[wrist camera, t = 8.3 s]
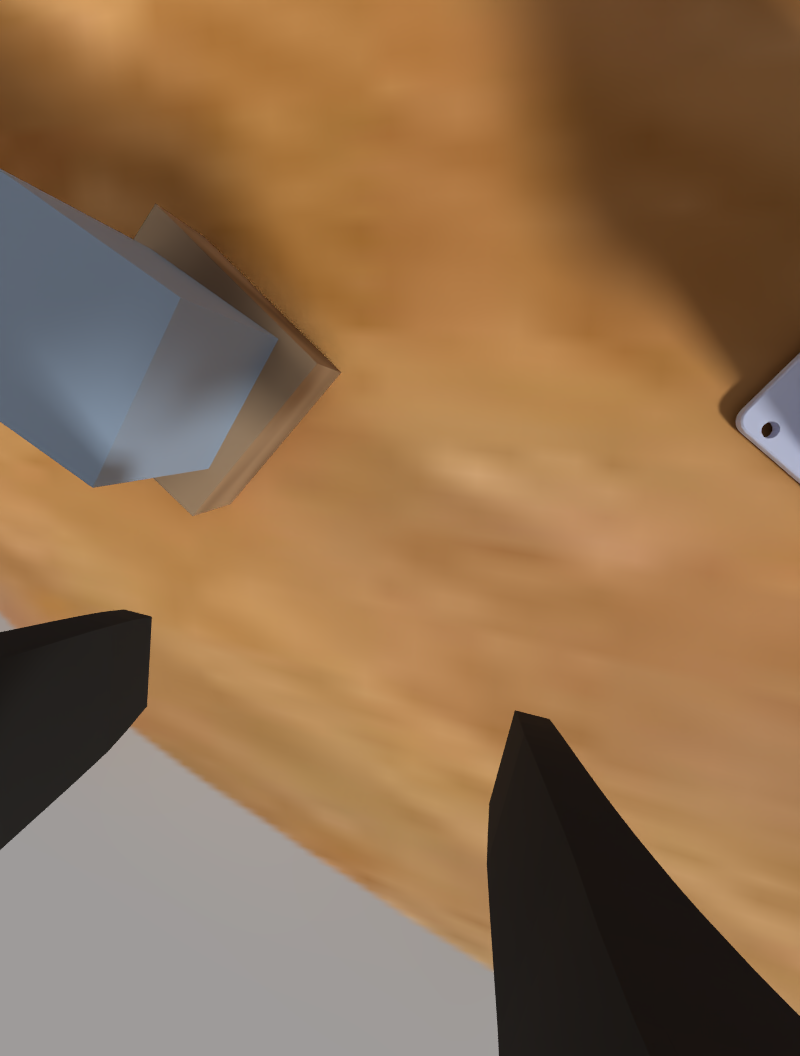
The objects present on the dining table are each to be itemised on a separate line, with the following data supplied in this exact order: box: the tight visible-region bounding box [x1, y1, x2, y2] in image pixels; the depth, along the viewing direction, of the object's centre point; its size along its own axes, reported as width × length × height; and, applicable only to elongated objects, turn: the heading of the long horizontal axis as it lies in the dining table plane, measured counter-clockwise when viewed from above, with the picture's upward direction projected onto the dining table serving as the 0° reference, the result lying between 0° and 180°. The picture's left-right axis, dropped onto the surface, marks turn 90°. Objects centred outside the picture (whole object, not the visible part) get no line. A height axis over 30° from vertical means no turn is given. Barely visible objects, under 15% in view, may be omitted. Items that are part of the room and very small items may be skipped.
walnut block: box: [133, 204, 341, 516], centre depth 17 cm, size 7×7×3 cm
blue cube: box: [0, 169, 278, 488], centre depth 13 cm, size 5×5×5 cm
